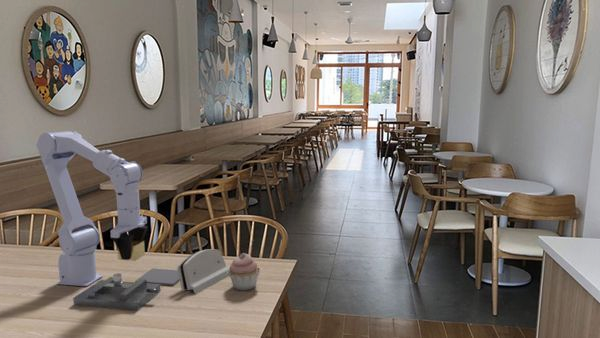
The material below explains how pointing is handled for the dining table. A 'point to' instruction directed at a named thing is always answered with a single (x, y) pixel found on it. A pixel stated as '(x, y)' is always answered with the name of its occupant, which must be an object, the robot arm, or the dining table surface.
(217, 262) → the hinge
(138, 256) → the collar
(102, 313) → the dining table surface
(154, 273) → the mat
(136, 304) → the vise
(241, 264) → the cupcake
